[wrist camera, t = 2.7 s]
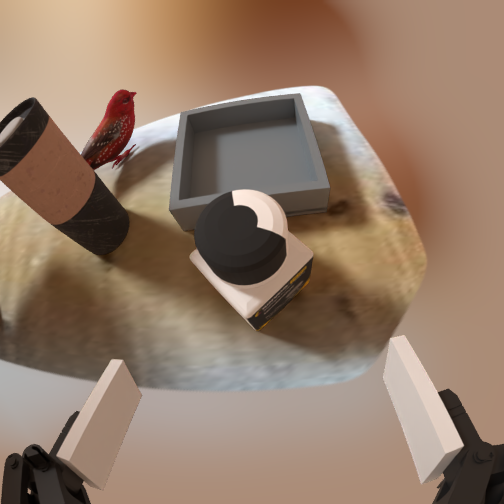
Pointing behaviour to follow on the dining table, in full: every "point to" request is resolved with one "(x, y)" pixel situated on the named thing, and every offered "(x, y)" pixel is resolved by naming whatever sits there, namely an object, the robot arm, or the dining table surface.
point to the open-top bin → (248, 157)
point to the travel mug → (58, 180)
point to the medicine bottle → (250, 254)
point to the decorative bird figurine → (112, 132)
